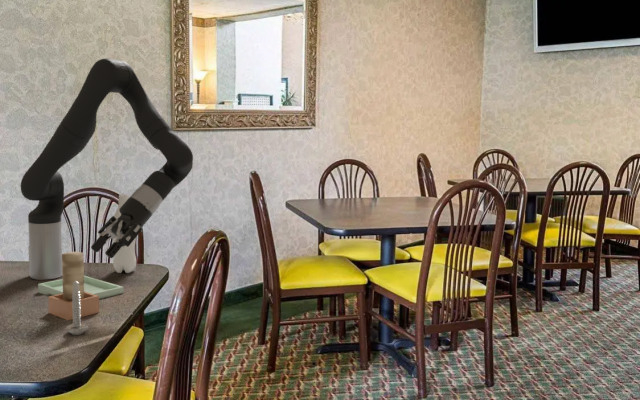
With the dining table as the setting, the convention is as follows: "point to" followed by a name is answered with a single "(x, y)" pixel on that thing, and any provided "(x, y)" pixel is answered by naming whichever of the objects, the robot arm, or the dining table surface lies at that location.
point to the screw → (76, 313)
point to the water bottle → (126, 254)
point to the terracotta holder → (65, 308)
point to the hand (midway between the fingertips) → (100, 253)
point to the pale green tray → (90, 286)
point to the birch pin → (72, 274)
